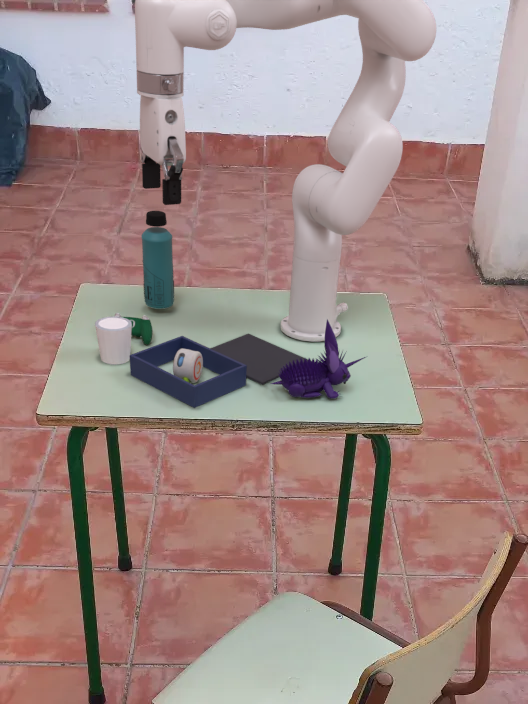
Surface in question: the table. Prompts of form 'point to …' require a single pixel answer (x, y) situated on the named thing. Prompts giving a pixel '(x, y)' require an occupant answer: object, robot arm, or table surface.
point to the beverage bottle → (157, 262)
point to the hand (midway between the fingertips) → (161, 195)
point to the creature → (317, 372)
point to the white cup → (114, 339)
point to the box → (193, 395)
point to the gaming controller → (140, 328)
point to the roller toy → (188, 365)
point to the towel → (258, 357)
